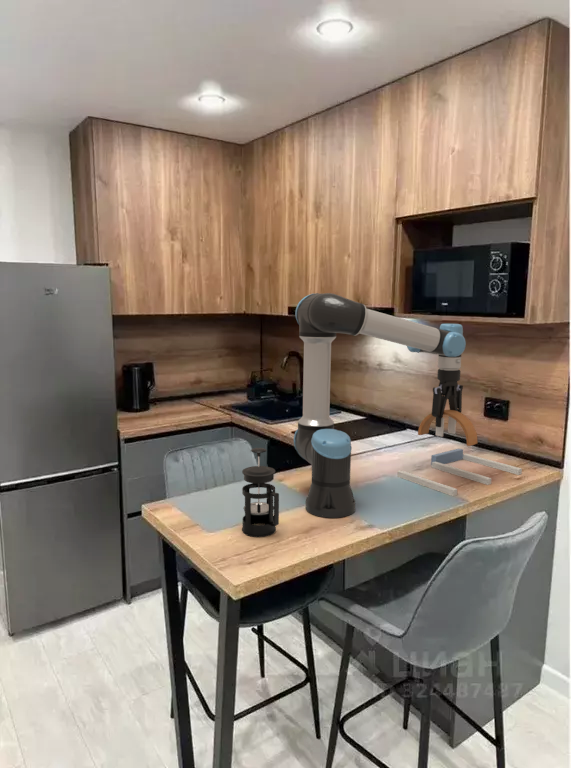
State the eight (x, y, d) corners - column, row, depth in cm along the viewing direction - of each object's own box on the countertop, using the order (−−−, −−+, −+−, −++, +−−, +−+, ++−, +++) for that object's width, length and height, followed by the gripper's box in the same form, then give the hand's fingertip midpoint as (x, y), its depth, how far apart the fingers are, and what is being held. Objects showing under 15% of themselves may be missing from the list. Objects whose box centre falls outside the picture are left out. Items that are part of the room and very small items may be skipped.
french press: (232, 530, 145) (232, 449, 142) (255, 519, 152) (255, 442, 149) (265, 542, 138) (265, 457, 134) (287, 530, 145) (288, 449, 142)
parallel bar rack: (453, 496, 172) (453, 484, 171) (393, 475, 192) (393, 464, 192) (521, 473, 195) (522, 463, 194) (461, 457, 216) (462, 447, 215)
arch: (426, 432, 194) (428, 405, 192) (477, 443, 179) (479, 414, 178) (417, 434, 190) (419, 407, 189) (468, 446, 175) (470, 416, 174)
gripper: (440, 371, 173) (436, 440, 176) (475, 368, 184) (471, 433, 187) (422, 369, 179) (419, 436, 182) (457, 366, 190) (453, 429, 193)
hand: (445, 434), depth 185 cm, fingers closed on arch, 6 cm apart
